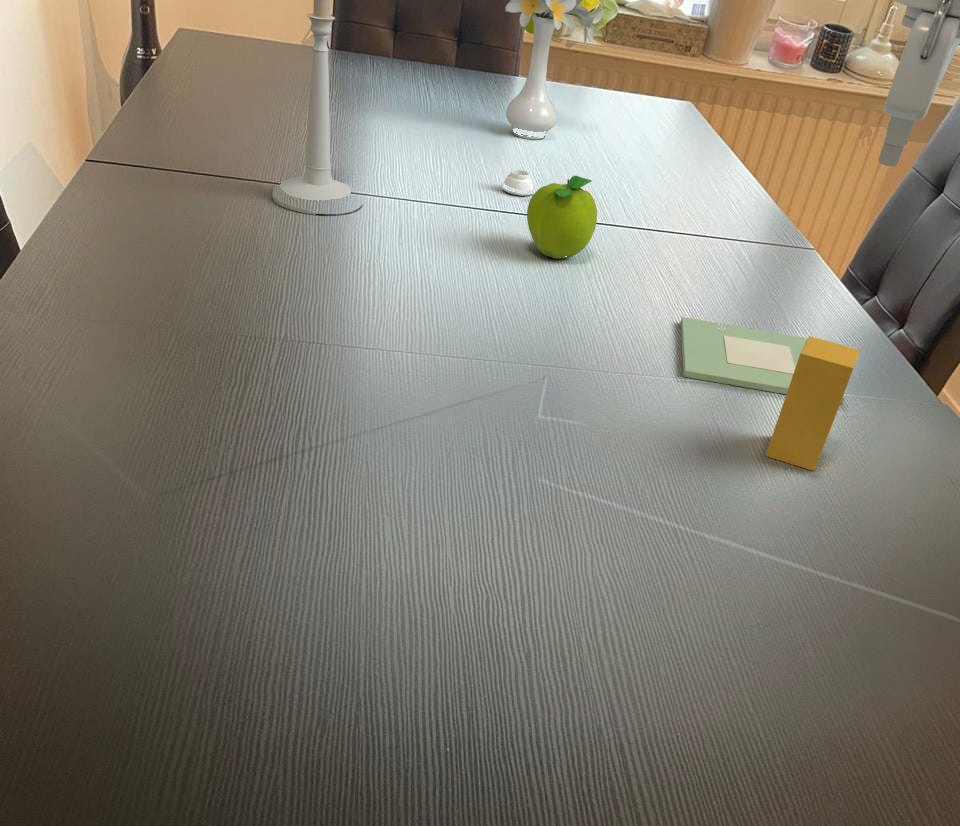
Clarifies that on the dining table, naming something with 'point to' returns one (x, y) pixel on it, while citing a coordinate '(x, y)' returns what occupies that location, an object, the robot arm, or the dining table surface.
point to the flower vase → (544, 58)
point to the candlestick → (317, 124)
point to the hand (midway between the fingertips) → (891, 154)
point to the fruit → (562, 218)
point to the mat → (739, 355)
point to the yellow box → (812, 402)
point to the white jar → (519, 182)
